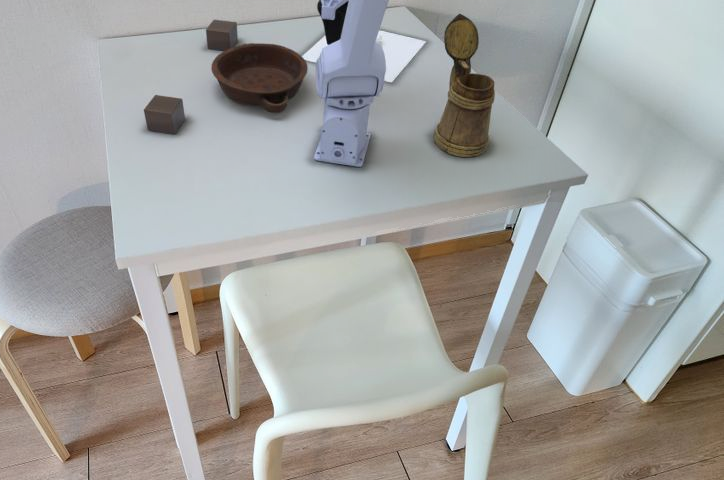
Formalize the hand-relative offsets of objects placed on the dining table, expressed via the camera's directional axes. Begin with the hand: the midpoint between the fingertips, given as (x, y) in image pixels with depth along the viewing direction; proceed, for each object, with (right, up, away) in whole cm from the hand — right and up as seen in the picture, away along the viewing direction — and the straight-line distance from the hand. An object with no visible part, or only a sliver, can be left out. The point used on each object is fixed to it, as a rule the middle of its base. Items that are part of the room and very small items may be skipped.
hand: (333, 43), depth 101 cm
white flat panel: (+8, +7, +21) cm, 23 cm away
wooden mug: (+21, -16, 0) cm, 26 cm away
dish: (-13, -5, +10) cm, 17 cm away
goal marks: (-25, -3, +11) cm, 28 cm away
